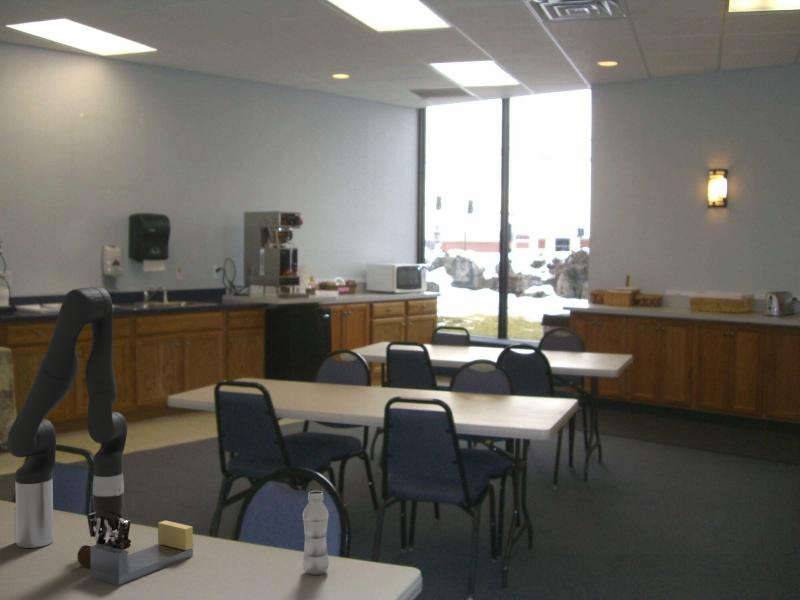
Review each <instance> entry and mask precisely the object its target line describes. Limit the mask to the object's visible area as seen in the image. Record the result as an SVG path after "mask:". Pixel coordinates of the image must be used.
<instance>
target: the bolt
mask: <svg viewBox="0 0 800 600" xmlns="http://www.w3.org/2000/svg"><path fill="white" fill-rule="evenodd" d="M115 537H116V540H117V536H115ZM123 537H124V536H123ZM123 537H122V538H123ZM131 544H132V540H131V539H129V538H128V541H127V542H124V543H122V544H121V550H124V551H125V550H126V549H129V548H130V547H131ZM102 545H105V546H109V547H112V545H113V544H112V540H111V537H110V538H109V539H107V542H106V543H105V544H102ZM91 546H92V545H88V544H84V545H82V546H81V547H80V548H79V550H78V551H77V561H78V564H79V565H80V566H81V567H82V568H85V569H91V558H90V547H91Z"/></svg>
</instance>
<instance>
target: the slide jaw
mask: <svg viewBox="0 0 800 600" xmlns="http://www.w3.org/2000/svg"><path fill="white" fill-rule="evenodd" d="M193 530H194V527H193V526H190V525H188V524H183V523H179V522H174V521H170V520H163V521H159V522H158V523H157V544H162V545H166V546H170V547H174V548H178V549H182V550H188V549H191V548H193V549H194V536H193V534H194V531H193Z"/></svg>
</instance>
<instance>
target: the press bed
mask: <svg viewBox="0 0 800 600" xmlns="http://www.w3.org/2000/svg"><path fill="white" fill-rule="evenodd" d="M90 546H91V547H90V558H91V568H90V578H92V579H96V580H98V581H103V582H105V583H106V582H107V583H109V584H113V585H116V586H122V585H125V584H126V583H129V582H131V581H134V580H137V579H139V578H142V577H145V576H146V575H149V574H152V573H154V572H157V571H159V570H162V569H164V568H167V567H169V566H171V565H174V564H177V563H179V562H182V561H184V560H186V558H187V559H189V558H191V556H192V557H193V556H194V552H193V551H194V547H193V548H191V549H188V550H182V549H178V548H174V547H170V546H166V545H162V544H159V543H157V544H155V545H153V546H150V547H147V548H144V549H141V550H138V551H136V552H133V553H131V554H128V550H125V549H124V550H120V549H117V548H113V547H109V546H105V545H102V544H97V545H96V544H94V545H90Z"/></svg>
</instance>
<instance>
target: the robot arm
mask: <svg viewBox="0 0 800 600" xmlns="http://www.w3.org/2000/svg"><path fill="white" fill-rule="evenodd" d="M113 311H114V309H113V300H112V297H111V295H110V293H109V292H108V291H107V290H106V288H103V287H101V286H90V287H82V288H75V289H71V290H70V291H68V292H67V293H66V295H65V296H64V298H63V300H62V303H61V304H60V309H59V312H58V314H57V318H56V322H55V326H54V330H53V333H52V335H51V338H50V340H49V343H48V346H47V349H46V351H45V353H44V356H43V357H42V360H41V362H40V365H39V367H38V369H37V372H36V375H35V377H34V381H33V383H32V384H31V385H32V386H31V388H30V390H29V391H28V394H27V396H26V398H25V400H24V403H23V404H22V406H21V408H20V410H19V412H18V414H17V416H16V417H15V419H14V421H13V423H12V424H11V426H10V428H9V431H8V434H7V439H6V442H7V443H6V444H7V445H6V446H7V449H8V451H9V453H10V454H11V455H12V456H13V457H16V458H26V457H27V458H28V459H27V460H26V462H24V464H23V465H22V466H19V468H17V469H16V471H15V475H14V476H15V480H14V481H15V482H14V483H15V484H14V485H15V507H14V508H13V521H14V522H13V525H14V526H13V527H14V528H13V529H14V533H13V534H14V535H13V536H14V543H15V544H16V547H18V548H23V549H24V548H25V549H29V548H30V549H35V548H42V547H45V546H47V545H50V544H52V543H53V542H54V491H53V490H54V489H53V488H54V487H53V485H54V484H53V483H54V482H53V480H54V479H53V474H54V473H53V472H54V470H55V466H56V455H57V454H56V450H57V449H56V448H57V436H56V435H57V434H56V430H55V427H54V424H53V423H52V422H51V421H50V420H49V419H46V416H48V414H49V413H50V412H51V411H52V410H53V409H54V408H55V407H56V406H57V405H58V404H59V403H60V402H61V401H62V400H63V399H64V398H65V397H66V396H67V395H68V393H70V390H71V389H72V387H73V384H74V382H75V379H76V377H77V374H78V372H79V368H80V360H79V356H78V352H77V342H78V339H79V337H80V335H81V332H82V331H83V329H84V327H85V326H86V325H90V327H91V332H92V335H91V336H92V339H91V340H92V341H91V347H90V351H89V355H88V360H87V363H86V365H85V366H86V367H85V373H84V374H85V377H84V378H85V385H86V389H87V391H86V392H87V395H88V406H87V418H86V419H87V420H86V421H87V422H86V424H87V426H86V427H87V432H88V434H89V436H90V438H91V440H93V442H95V443H97V444H100V446H99V449H98V450H97V451H96V452H95V454H94V457H93V480H92V509H93V511H94V512H91V513H88V514H87V515H86V517H87V524H88V529H89V536H90V537H91V538H94V540H95V541H96V542H95V545H97V544H105V543H107V542H106V541H107V540H106V536H107V535H108V537H110V538H111V540H112V544H113V545H112V547H113V548H117V549H120V550H121V544H122V543H124V542H127V541H128V539H129V534H130V530H131V529H130V527H131V520H130V519H124V518H123V515H122V510H123V509H124V507H125V491H124V490H125V486H124V485H125V484H124V483H125V481H124V473H123V471H124V470H123V469H124V468H123V467H124V466H123V455H124V451H125V447H126V442H127V437H128V435H127V434H128V425H127V423H128V422H127V420H126V418H125V416H124V415H123V414H122V413H120V412H117V411H113V405H114V403H115V402H116V401H117V400H118V389H117V382H116V377H115V371H114V370H115V369H114V360H113V355H114V354H113V351H114V350H113V344H114V343H113V340H114V339H113V334H114V332H113V331H114V329H113V327H114V326H113V325H114V323H113V322H114V312H113ZM94 527H95V529H94ZM116 537H117V540H116ZM122 537H123V538H122Z"/></svg>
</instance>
